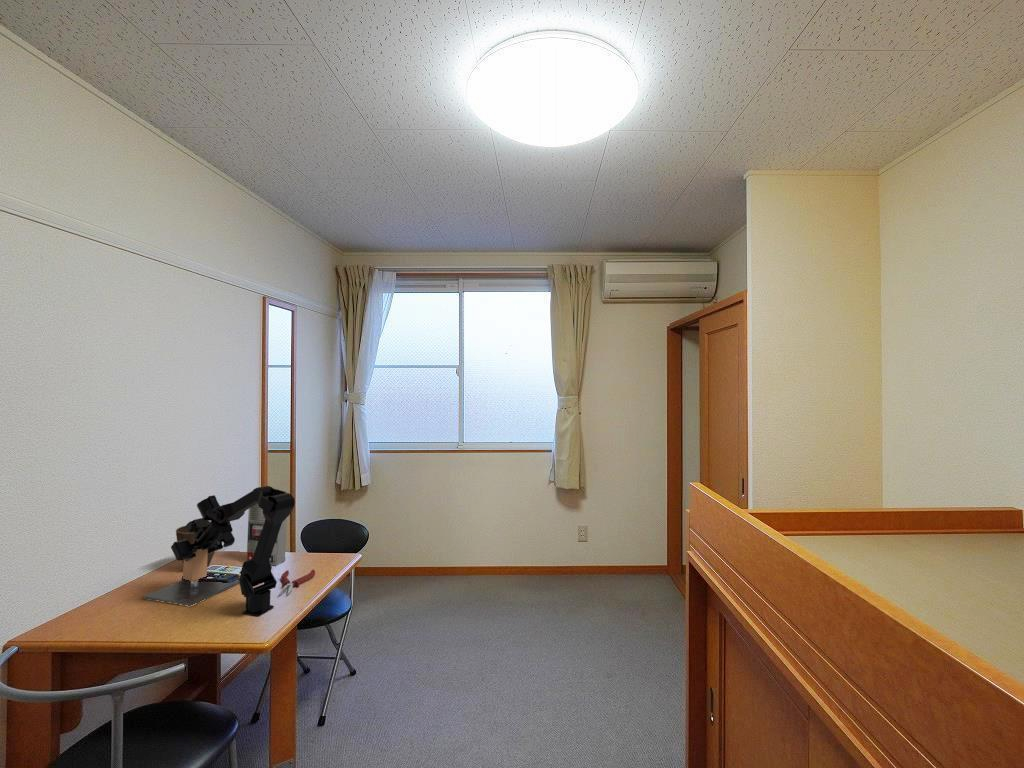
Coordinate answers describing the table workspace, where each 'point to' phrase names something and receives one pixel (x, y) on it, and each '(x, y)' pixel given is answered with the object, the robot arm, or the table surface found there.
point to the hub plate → (189, 591)
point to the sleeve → (196, 566)
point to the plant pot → (190, 540)
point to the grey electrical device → (254, 531)
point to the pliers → (289, 586)
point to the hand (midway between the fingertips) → (193, 557)
